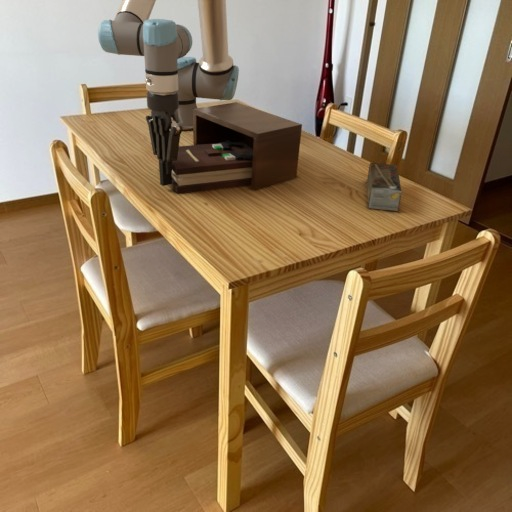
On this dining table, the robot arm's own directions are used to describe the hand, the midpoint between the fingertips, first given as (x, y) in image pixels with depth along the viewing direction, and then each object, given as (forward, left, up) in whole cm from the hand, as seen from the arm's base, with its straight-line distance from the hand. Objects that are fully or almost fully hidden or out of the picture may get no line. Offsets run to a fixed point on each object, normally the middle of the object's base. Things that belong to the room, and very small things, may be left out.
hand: (166, 183), depth 127 cm
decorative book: (0, +15, -2) cm, 15 cm away
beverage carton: (+37, +45, -2) cm, 58 cm away
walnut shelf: (0, +27, -2) cm, 27 cm away
